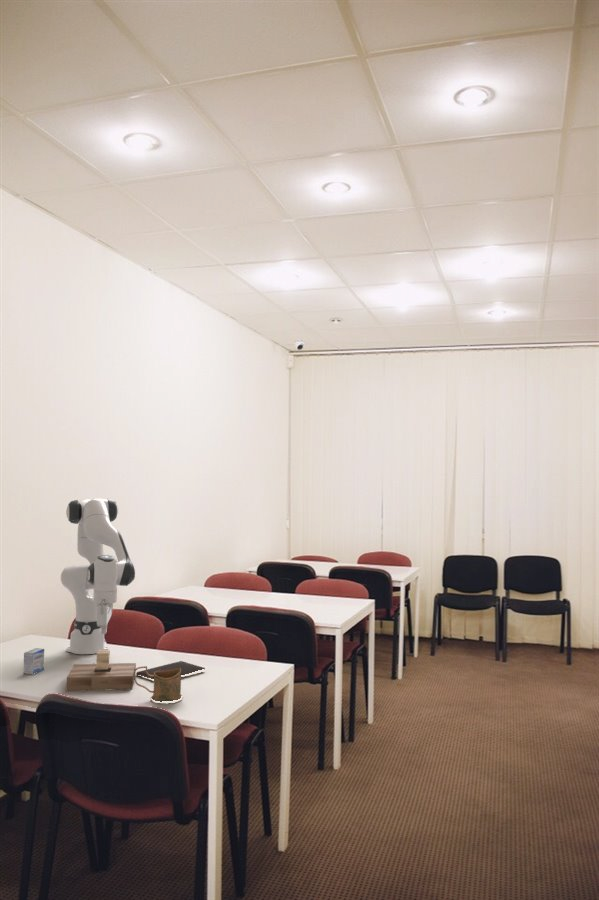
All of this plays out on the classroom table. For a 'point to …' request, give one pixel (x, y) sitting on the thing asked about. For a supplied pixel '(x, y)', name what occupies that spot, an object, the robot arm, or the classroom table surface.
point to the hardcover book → (184, 666)
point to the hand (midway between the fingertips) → (103, 633)
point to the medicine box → (34, 661)
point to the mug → (165, 684)
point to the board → (101, 677)
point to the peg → (102, 661)
